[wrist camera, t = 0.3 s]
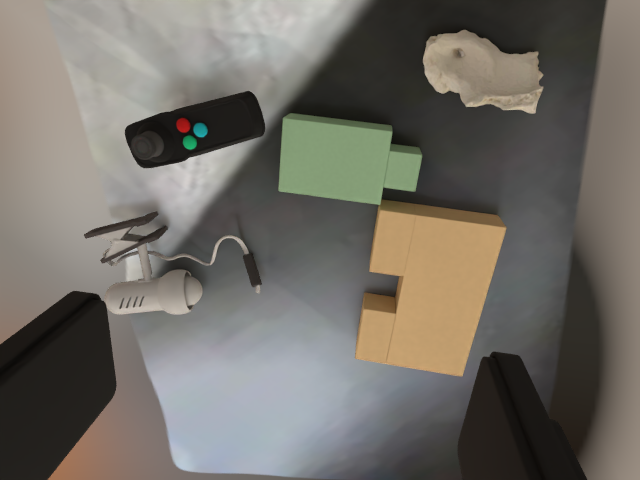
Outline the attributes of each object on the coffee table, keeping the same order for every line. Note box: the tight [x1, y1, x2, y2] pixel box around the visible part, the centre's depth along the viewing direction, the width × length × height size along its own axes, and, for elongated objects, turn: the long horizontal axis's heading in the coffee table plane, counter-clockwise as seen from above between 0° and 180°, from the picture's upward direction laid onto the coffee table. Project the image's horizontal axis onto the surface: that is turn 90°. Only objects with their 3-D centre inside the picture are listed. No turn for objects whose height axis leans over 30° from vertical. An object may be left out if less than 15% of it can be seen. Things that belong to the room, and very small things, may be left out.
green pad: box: [278, 113, 422, 205], centre depth 42 cm, size 7×13×4 cm, turn 84°
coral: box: [423, 30, 543, 113], centre depth 37 cm, size 6×10×4 cm, turn 79°
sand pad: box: [355, 199, 506, 376], centre depth 46 cm, size 18×12×4 cm, turn 174°
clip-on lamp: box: [84, 211, 262, 314], centre depth 48 cm, size 12×6×18 cm
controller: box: [125, 91, 265, 168], centre depth 39 cm, size 4×12×10 cm, turn 105°
